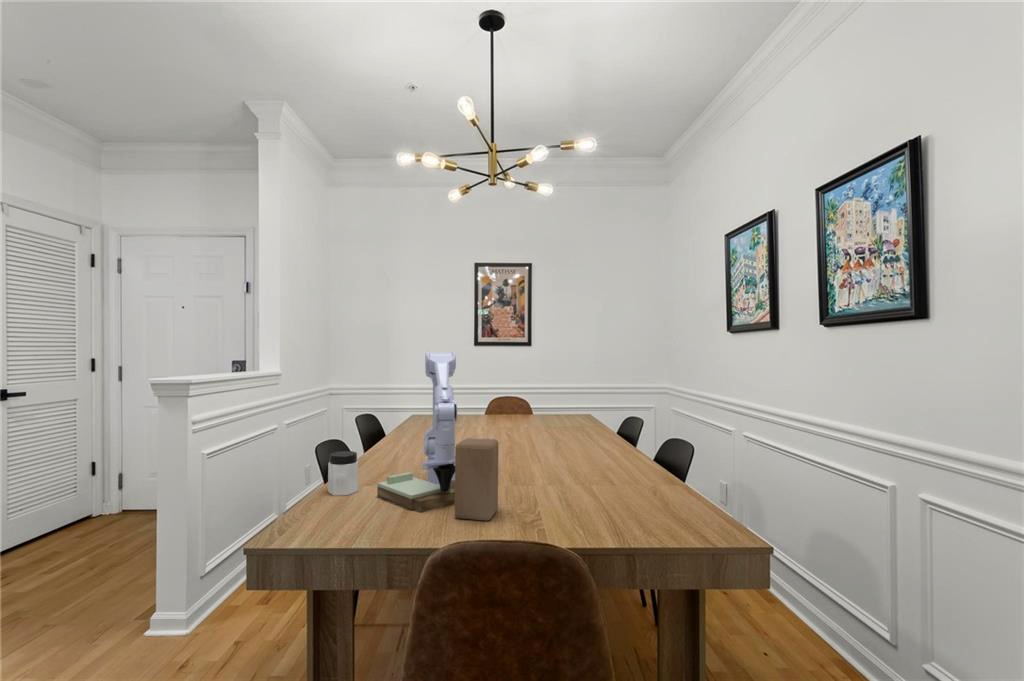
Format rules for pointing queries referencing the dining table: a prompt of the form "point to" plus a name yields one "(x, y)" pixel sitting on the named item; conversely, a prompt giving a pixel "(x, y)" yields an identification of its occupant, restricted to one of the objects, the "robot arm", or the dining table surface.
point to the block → (476, 479)
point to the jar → (343, 473)
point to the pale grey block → (451, 487)
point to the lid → (409, 486)
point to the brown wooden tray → (418, 500)
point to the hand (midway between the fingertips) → (444, 490)
